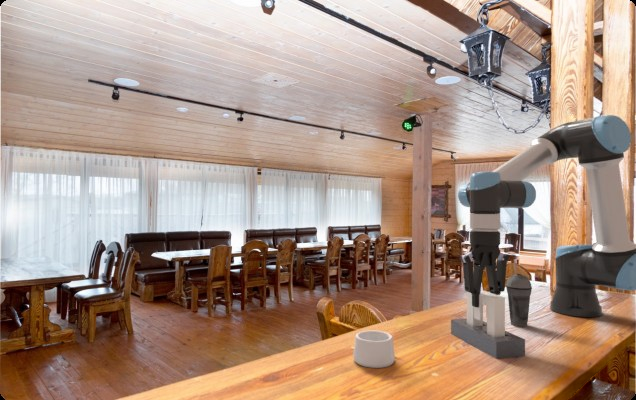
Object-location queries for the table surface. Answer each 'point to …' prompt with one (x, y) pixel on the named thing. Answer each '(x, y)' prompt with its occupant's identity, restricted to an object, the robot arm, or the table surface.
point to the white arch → (489, 313)
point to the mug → (374, 349)
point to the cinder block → (488, 340)
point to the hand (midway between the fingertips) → (484, 318)
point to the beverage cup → (518, 298)
